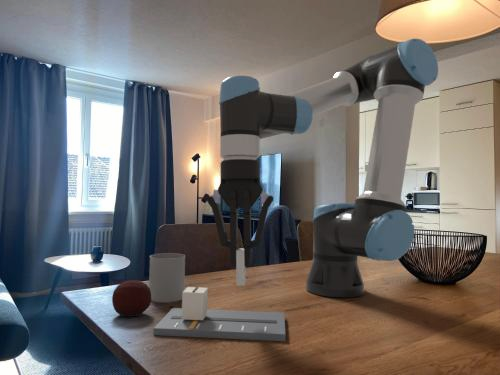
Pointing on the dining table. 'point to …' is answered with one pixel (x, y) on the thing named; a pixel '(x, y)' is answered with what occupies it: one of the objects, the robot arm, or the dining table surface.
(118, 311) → the potato
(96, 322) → the dining table surface
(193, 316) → the fader
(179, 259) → the cup
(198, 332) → the console
